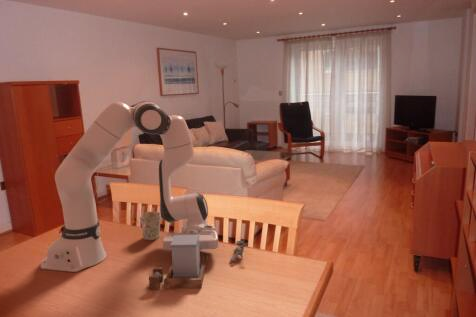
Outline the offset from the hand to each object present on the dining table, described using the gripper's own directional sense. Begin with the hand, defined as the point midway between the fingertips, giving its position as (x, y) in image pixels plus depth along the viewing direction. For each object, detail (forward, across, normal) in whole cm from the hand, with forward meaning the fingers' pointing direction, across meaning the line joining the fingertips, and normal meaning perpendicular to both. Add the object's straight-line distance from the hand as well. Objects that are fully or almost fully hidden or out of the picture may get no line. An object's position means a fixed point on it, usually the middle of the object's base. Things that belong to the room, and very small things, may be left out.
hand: (187, 251), depth 124 cm
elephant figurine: (-7, +18, +7) cm, 20 cm away
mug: (-24, -20, +7) cm, 32 cm away
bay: (+4, -2, +6) cm, 8 cm away
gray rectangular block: (+4, 0, +6) cm, 7 cm away
